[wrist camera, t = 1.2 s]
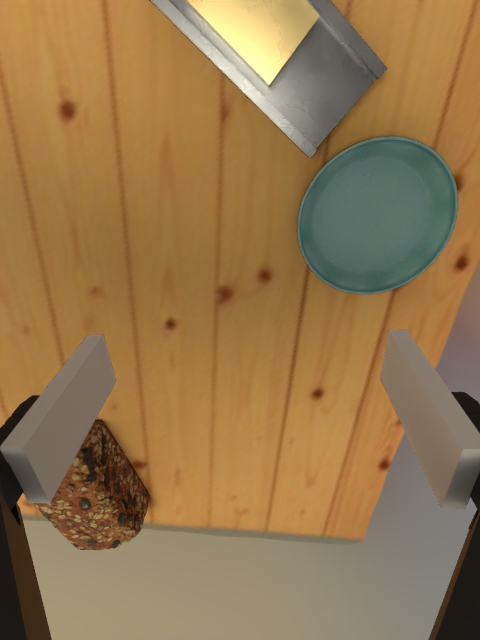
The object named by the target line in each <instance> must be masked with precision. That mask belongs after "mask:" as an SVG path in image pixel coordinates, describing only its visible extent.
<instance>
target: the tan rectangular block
mask: <svg viewBox="0 0 480 640" xmlns="http://www.w3.org/2000/svg"><path fill="white" fill-rule="evenodd" d="M184 1H185V2H186V4H187V5H188V6H189V7H190V8H191V9H192V10H193V11H194V12H195V13H196V14H197V15H198V16H199V17H200V19H201V20H202V21H203V22H204V23H205V24H206V25H207V26H208V27H209V28H210V29H211V30H212V31H213V32H214V33H215V34H216V35H217V36H218V37H219V38H220V39H221V40H222V41H223V42H224V43H225V44H226V45H227V46H228V47H229V48H230V49H231V50H232V51H233V52H234V53H235V54H236V55H237V56H238V57H239V58H240V59H241V60H242V61H243V62H244V64H245V65H246V66H247V67H248V68H249V69H250V70H251V71H252V72H253V73H254V74H255V75H256V76H257V77H258V78H259V79H260V80H261V81H262V82H263V83H264V84H265V85H266V86H267V87H268V88H269V87H270V86H271V84H272V83H273V81H274V80H275V79H276V77H277V76H278V75H279V73H280V72H281V71H282V69H283V68H284V67H285V65H286V64H287V62H288V61H289V60H290V58H291V57H292V56H293V54H294V53H295V52H296V50H297V49H298V48H299V46H300V45H301V43H302V42H303V41H304V39H305V38H306V37H307V35H308V34H309V33H310V31H311V30H312V29H313V27H314V26H315V24H316V22H317V20H318V18H319V17H320V16H319V14H318V13H317V12H316V11H315V10H314V9H313V7H312V6H311V5H310V4H309V3H308V2H307V0H184Z"/></svg>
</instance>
